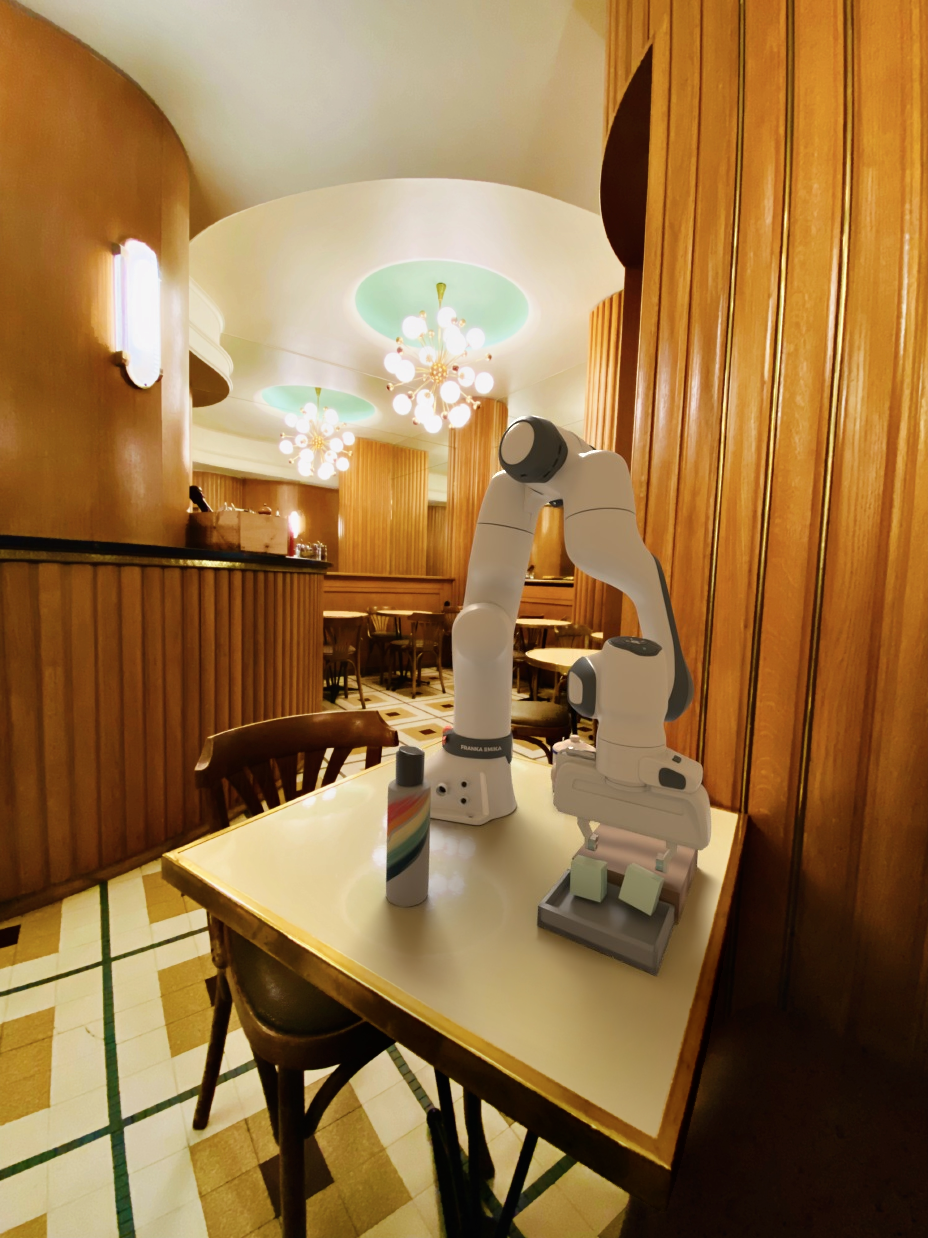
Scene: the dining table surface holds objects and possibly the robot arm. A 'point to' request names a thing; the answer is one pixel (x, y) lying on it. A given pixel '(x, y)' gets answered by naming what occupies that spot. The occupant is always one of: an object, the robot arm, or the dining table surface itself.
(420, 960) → the dining table surface
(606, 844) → the walnut bench
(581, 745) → the teacup with lid
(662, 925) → the charcoal tray
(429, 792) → the lotion bottle
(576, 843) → the dining table surface
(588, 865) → the mint block
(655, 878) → the mint block
